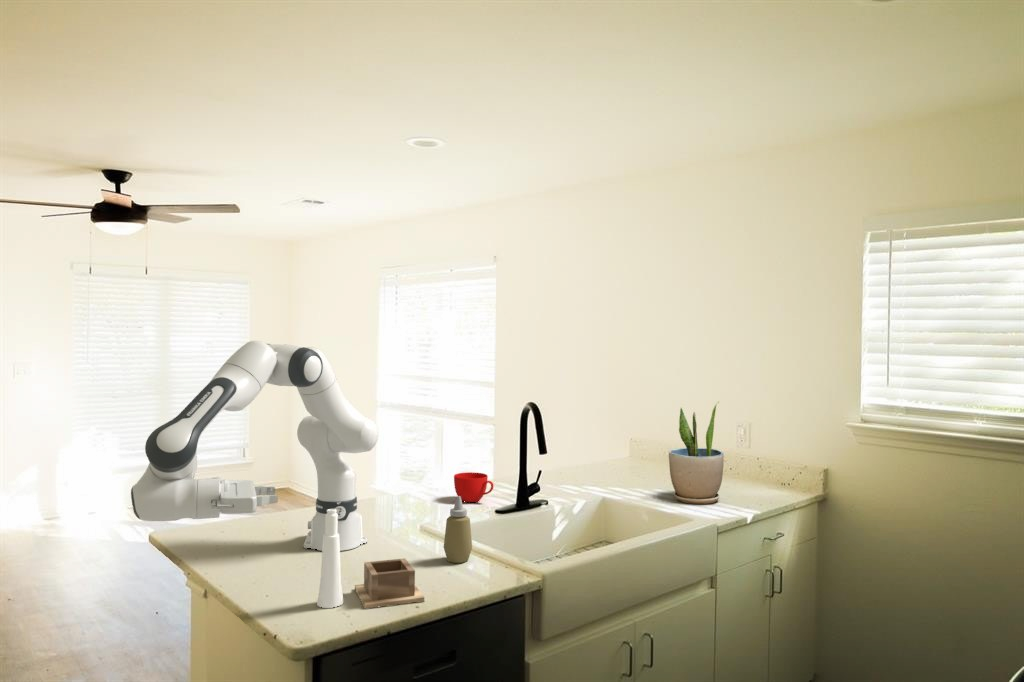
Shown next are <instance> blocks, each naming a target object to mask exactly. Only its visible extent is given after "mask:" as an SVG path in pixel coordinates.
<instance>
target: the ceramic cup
mask: <svg viewBox="0 0 1024 682" xmlns="http://www.w3.org/2000/svg"><path fill="white" fill-rule="evenodd" d="M453 484H454V490H455V493H456V496H461V500H462V501H465V502H477V503H479V502H480V501H481V499H482V498H483V497H484V495H485V496H486V495H488V494H490V493H491V492H493V490H494V482H493V481H491V480H488V474H486V473H482V472H475V471H473V472H472V471H471V472H470V471H469V472H461V473H460V472H459V473H455V474H454V476H453ZM488 484H489V485H490V488H489V490H488V491H487V487H488ZM478 501H479V502H478Z"/></svg>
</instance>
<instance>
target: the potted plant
mask: <svg viewBox="0 0 1024 682" xmlns="http://www.w3.org/2000/svg"><path fill="white" fill-rule="evenodd" d="M719 403H720V401H717V402H716V404H715V405H714V406H713V409H712V413H711V417H710V420H709V425H708V426H707V430H706V434H705V444H706V448H705V447H704V448H703V447H698V446H699V445H698V433H697V421H696V420H697V417H696V411H693V414H692V429H691V428H690V425H689V422H688V419H687V418H686V415H685V412H684V410H683V408H682V407H680V410H679V419H678V425H679V426H678V432H679V436H680V439H681V441H682V442H683V444H684V446H685V447H681V448H673V449H670V450H669V451H668V462H669V465H668V466H669V473H670V480H671V483H672V487H673V489H674V491H675V492H674V493H673V497H674V498H675V499H676V500H677V501H679V502H682V503H687V504H696V505H697V504H698V505H699V504H700V505H701V504H703V505H705V504H713V503H716V502H717V501H718V500H719V499H720V494H719V491H720V489H721V486H722V481H723V474H724V463H725V462H724V460H725V459H724V457H725V456H724V452H723V451H721V450H719V449H717V448H716V449H715V448H712V447H713V437H714V429H715V417H716V409H717V405H718V404H719Z"/></svg>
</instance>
